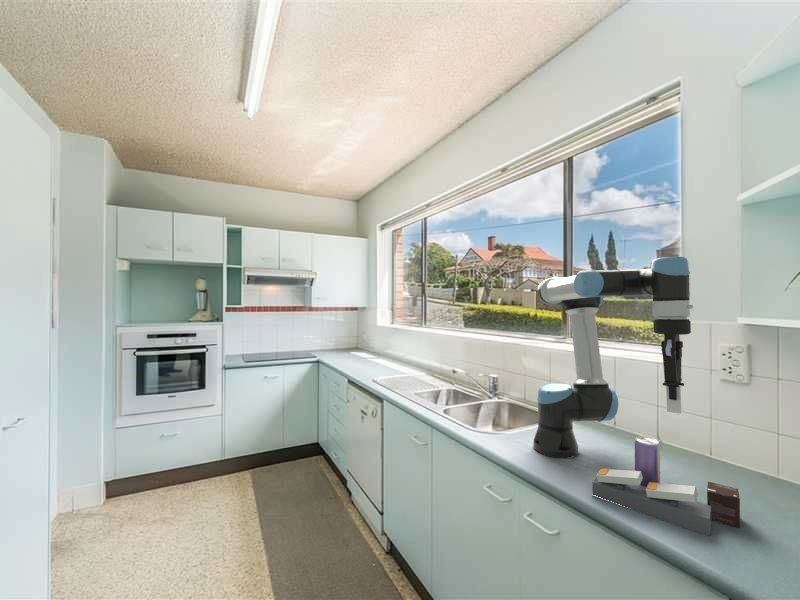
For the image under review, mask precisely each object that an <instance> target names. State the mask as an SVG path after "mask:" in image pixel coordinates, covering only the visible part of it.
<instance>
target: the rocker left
mask: <svg viewBox="0 0 800 600" xmlns="http://www.w3.org/2000/svg"><path fill="white" fill-rule="evenodd" d="M596 477H597V478H598V482H606V483H617V484H629V485H640V483H641V481H642V479H643V477H642V473H641V471H635V470H629V469H627V470H625V469H623V470H622V469H612V468H601V469H600V470H599V471H598V472H597V474H596Z"/></svg>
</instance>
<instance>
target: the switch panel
mask: <svg viewBox="0 0 800 600" xmlns="http://www.w3.org/2000/svg"><path fill="white" fill-rule="evenodd" d="M591 488H592V489H591V491H592V493H591V494H593V495H596V496H598V497H601V498H603V499H606V500H609V501H612V502H614V503H617V504H620V505H622V506H621V507H623V506H625V507H628V508H631V509H633V510H632V511H634V510H636V511H635V512H637V511H638V513H640V512H641V514H643V513H644V514H643V515H647V516H650V517H652V518H655V519H659V520H662V521H664V522H667V523H670V524H673V525H676V526H679V527H682V528H685V529H687V530H690V529H691V530H690V531H693V530H694V532H696V531H697V532H696V533H699V534H702V535H705V536H709V537H710V536H711V527H712V520H711V506H709V505H707V503H704V502H703V503H702V502H699V501H696V502H689V501H679V500H670V499H660V498H651V497H647V493H646V488H647V487H645V486H642V485H629V484H617V483H606V482H598V478H597V476H595V478H594V479H593V481H592V486H591ZM614 503H613V504H614ZM617 504H616V505H617ZM620 505H619V506H620ZM625 507H624V508H625ZM628 508H627V509H628ZM631 509H630V510H631Z"/></svg>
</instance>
